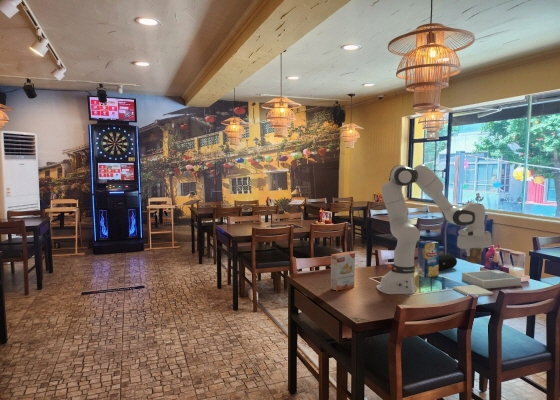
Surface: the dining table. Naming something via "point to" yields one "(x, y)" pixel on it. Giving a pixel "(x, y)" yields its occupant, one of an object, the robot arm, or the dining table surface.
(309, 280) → the dining table surface
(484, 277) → the grey bin
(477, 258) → the walnut block
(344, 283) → the cracker box
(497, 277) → the blue-grey block
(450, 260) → the portable speaker
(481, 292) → the cream tile
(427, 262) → the blue tall cardboard box
